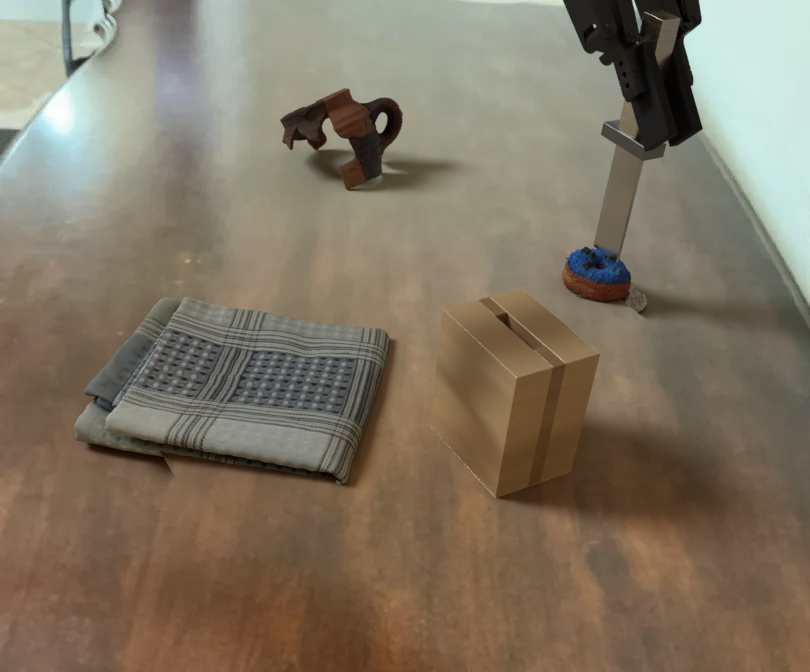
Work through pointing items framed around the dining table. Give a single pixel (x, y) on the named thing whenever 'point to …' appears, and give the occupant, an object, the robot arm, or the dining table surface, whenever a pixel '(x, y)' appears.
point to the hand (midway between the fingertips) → (673, 139)
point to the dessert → (600, 279)
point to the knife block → (511, 390)
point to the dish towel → (238, 389)
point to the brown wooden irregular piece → (347, 131)
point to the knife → (631, 143)
